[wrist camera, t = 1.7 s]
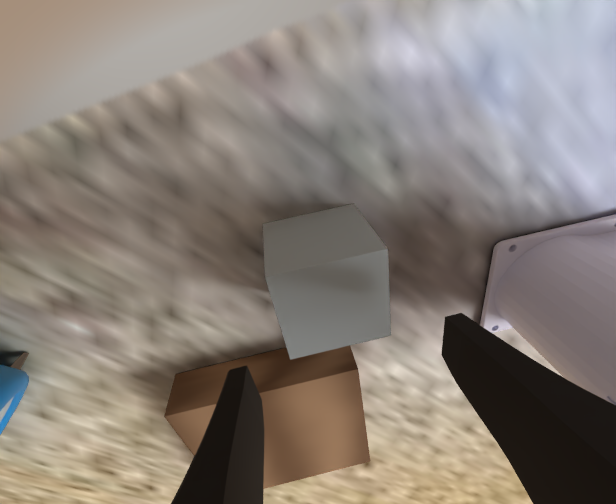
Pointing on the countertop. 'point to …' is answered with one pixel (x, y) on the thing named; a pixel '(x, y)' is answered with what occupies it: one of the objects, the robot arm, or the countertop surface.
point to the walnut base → (285, 410)
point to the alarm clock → (11, 388)
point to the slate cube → (327, 280)
